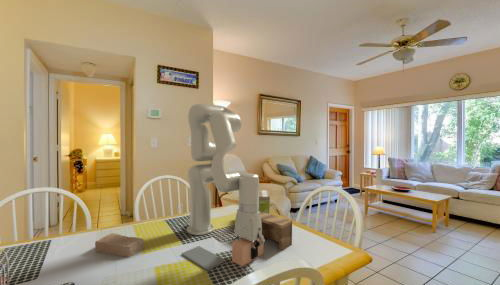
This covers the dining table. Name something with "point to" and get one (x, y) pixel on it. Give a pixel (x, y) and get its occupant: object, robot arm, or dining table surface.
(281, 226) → the cubby
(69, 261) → the dining table surface
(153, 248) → the dining table surface
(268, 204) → the tea box
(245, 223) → the robot arm
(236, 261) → the block
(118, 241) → the brick
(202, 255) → the mat
